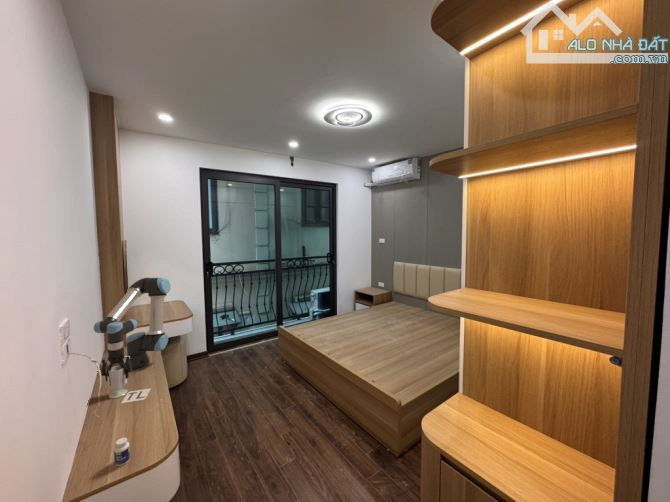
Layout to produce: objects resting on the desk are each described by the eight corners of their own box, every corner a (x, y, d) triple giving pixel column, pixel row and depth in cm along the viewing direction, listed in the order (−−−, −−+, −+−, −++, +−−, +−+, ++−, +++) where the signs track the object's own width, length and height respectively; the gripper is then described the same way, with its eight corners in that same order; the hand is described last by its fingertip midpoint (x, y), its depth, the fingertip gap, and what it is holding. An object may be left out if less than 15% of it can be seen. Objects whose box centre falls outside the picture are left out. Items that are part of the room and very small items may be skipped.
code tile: (128, 392, 172) (128, 391, 172) (151, 388, 176) (151, 388, 175) (120, 403, 160) (120, 403, 160) (144, 400, 164) (144, 399, 164)
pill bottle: (114, 469, 117) (113, 447, 116) (115, 460, 121) (113, 439, 120) (130, 462, 120) (129, 441, 119) (130, 454, 124) (129, 434, 124)
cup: (116, 391, 164) (115, 372, 163) (105, 389, 165) (104, 370, 164) (129, 384, 172) (128, 365, 171) (118, 382, 173) (117, 364, 172)
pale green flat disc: (112, 391, 172) (112, 390, 172) (129, 388, 175) (129, 387, 175) (106, 399, 163) (106, 398, 163) (124, 397, 166) (124, 396, 166)
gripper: (92, 353, 160) (94, 390, 162) (133, 348, 166) (135, 384, 168) (98, 347, 167) (100, 384, 169) (137, 343, 173) (139, 378, 175)
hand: (117, 384), depth 168 cm, fingers closed on cup, 7 cm apart
